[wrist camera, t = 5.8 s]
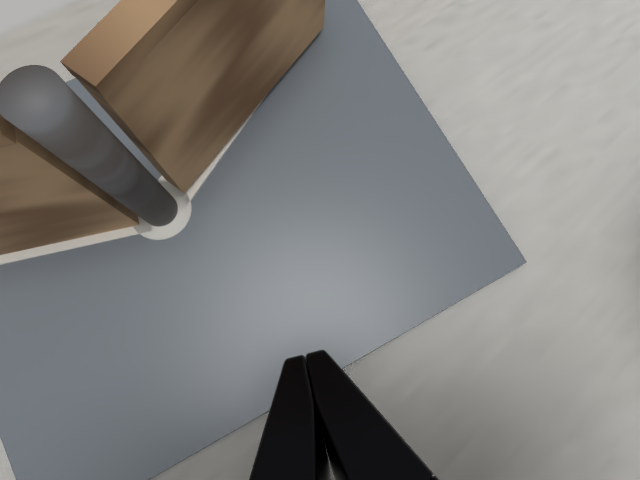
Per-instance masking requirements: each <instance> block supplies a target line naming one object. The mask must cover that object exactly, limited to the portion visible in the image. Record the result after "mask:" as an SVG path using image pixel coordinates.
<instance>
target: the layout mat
mask: <svg viewBox="0 0 640 480" xmlns="http://www.w3.org/2000/svg"><path fill="white" fill-rule="evenodd" d="M66 84H67V85H68V86H69V87H70V88H71V89H72V90H73V91H74V92H75V93H76V94H77V95H78V97H79V98H80V99H81V100H82V101H83V102H84V103H85V104H86V105H87V106H88V107H89V108H90V109H91V110H92V111H93V113H94V114H95V115H96V116H97V117H98V118H99V119H100V120H101V121H102V122H103V123H104V124H105V125H106V126H107V127H108V128H109V130H110V131H111V132H112V133H113V134H114V135H115V136H116V137H117V138H118V139H119V140H120V141H121V142H122V143H123V144H124V145H125V147H126V148H127V149H128V150H129V151H130V152H131V153H132V154H133V155H134V156H135V157H136V158H137V159H138V160H139V161H140V162H141V164H142V165H143V166H144V167H145V168H146V169H147V170H148V171H149V172H150V173H151V174H152V175H153V176H154V177H155V178H156V179H157V181H158V182H159V183H160V184H161V185H162V186H163V187H164V188H165V189H166V190H167V191H168V192H169V193H170V194H171V195H172V197H173V198H174V199H175V200H176V202H177V205H178V212H177V215H176V217H175V219H174V220H173V221H172V222H171V223H169V224H167V225H165V226H160V227H157V226H153V225H150V224H149V223H147V222H146V221H145V220H143V219H142V218H140V217H139V216H138V219H139V225H136V226H132V227H127V228H123V229H118V230H113V231H109V232H104V233H100V234H95V235H91V236H86V237H81V238H77V239H72V240H68V241H63V242H59V243H54V244H50V245H45V246H40V247H36V248H31V249H27V250H22V251H18V252H13V253H8V254H4V255H0V437H1V440H2V443H3V445H4V448H5V451H6V454H7V456H8V459H9V462H10V464H11V467H12V470H13V472H14V475H15V478H16V480H149V479H151V478H152V477H154V476H156V475H158V474H159V473H161V472H163V471H165V470H166V469H168V468H170V467H172V466H173V465H175V464H177V463H179V462H180V461H182V460H184V459H185V458H187V457H189V456H191V455H192V454H194V453H196V452H198V451H199V450H201V449H203V448H205V447H206V446H208V445H210V444H212V443H213V442H215V441H217V440H219V439H220V438H222V437H224V436H225V435H227V434H229V433H231V432H232V431H234V430H236V429H238V428H239V427H241V426H243V425H245V424H246V423H248V422H250V421H252V420H253V419H255V418H257V417H259V416H260V415H262V414H264V413H265V412H267V411H269V410H270V407H271V404H272V401H273V397H274V394H275V390H276V387H277V384H278V380H279V377H280V373H281V370H282V367H283V363H284V361H285V360H286V359H287V358H291V357H295V356H299V355H304V356H305V358H306V354H307V353H311V352H315V351H319V350H325V351H326V352H327V353H328V354H329V355H330V356H331V357H332V358H333V360H334V361H335V362H336V363H337V364H338V365H339V366H340V368H341V369H342V368H344V367H345V366H347V365H349V364H351V363H352V362H354V361H356V360H358V359H359V358H361V357H363V356H365V355H366V354H368V353H370V352H372V351H373V350H375V349H377V348H378V347H380V346H382V345H384V344H385V343H387V342H389V341H391V340H392V339H394V338H396V337H398V336H399V335H401V334H403V333H405V332H406V331H408V330H410V329H412V328H413V327H415V326H417V325H418V324H420V323H422V322H424V321H425V320H427V319H429V318H431V317H432V316H434V315H436V314H438V313H439V312H441V311H443V310H445V309H446V308H448V307H450V306H452V305H453V304H455V303H457V302H458V301H460V300H462V299H464V298H465V297H467V296H469V295H471V294H472V293H474V292H476V291H478V290H479V289H481V288H483V287H485V286H486V285H488V284H490V283H492V282H493V281H495V280H497V279H498V278H500V277H502V276H504V275H505V274H507V273H509V272H511V271H512V270H514V269H516V268H518V267H519V266H521V265H523V264H525V263H526V260H525V259H524V257H523V255H522V254H521V252H520V251H519V249H518V248H517V246H516V245H515V243H514V242H513V240H512V239H511V237H510V235H509V234H508V232H507V231H506V229H505V228H504V226H503V225H502V223H501V222H500V220H499V218H498V217H497V215H496V214H495V212H494V211H493V209H492V208H491V206H490V205H489V203H488V202H487V200H486V198H485V197H484V195H483V194H482V192H481V191H480V189H479V188H478V186H477V185H476V183H475V181H474V180H473V178H472V177H471V175H470V174H469V172H468V171H467V169H466V168H465V166H464V165H463V163H462V161H461V160H460V158H459V157H458V155H457V154H456V152H455V151H454V149H453V148H452V146H451V144H450V143H449V141H448V140H447V138H446V137H445V135H444V134H443V132H442V131H441V129H440V128H439V126H438V124H437V123H436V121H435V120H434V118H433V117H432V115H431V114H430V112H429V111H428V109H427V108H426V106H425V104H424V103H423V101H422V100H421V98H420V97H419V95H418V94H417V92H416V91H415V89H414V87H413V86H412V84H411V83H410V81H409V80H408V78H407V77H406V75H405V74H404V72H403V71H402V69H401V67H400V66H399V64H398V63H397V61H396V60H395V58H394V57H393V55H392V54H391V52H390V50H389V49H388V47H387V46H386V44H385V43H384V41H383V40H382V38H381V37H380V35H379V34H378V32H377V30H376V29H375V27H374V26H373V24H372V23H371V21H370V20H369V18H368V17H367V15H366V14H365V12H364V10H363V9H362V7H361V6H360V4H359V3H358V1H357V0H325V14H324V27H323V28H322V30H321V31H320V32H319V33H318V34H317V36H316V37H315V38H314V39H313V40H312V41H311V43H310V44H309V45H308V46H307V47H306V49H305V50H304V51H303V52H302V53H301V55H300V56H299V57H298V58H297V59H296V61H295V62H294V63H293V64H292V65H291V66H290V68H289V69H288V70H287V71H286V72H285V74H284V75H283V76H282V77H281V78H280V80H279V81H278V82H277V83H276V84H275V85H274V87H273V88H272V89H271V90H270V91H269V93H268V94H267V95H266V96H265V97H264V99H263V100H262V101H261V102H260V103H259V104H258V106H257V107H256V108H255V109H254V110H253V112H252V113H251V114H250V115H249V116H248V118H247V119H246V120H245V121H244V122H243V124H242V125H241V126H240V127H239V128H238V129H237V131H236V132H235V133H234V134H233V135H232V137H231V138H230V139H229V140H228V141H227V143H226V144H225V145H224V146H223V147H222V148H221V150H220V151H219V152H218V153H217V154H216V156H215V157H214V158H213V159H212V160H211V162H210V163H209V164H208V165H207V166H206V167H205V169H204V170H203V171H202V172H201V173H200V175H199V176H198V177H197V178H196V179H195V181H194V182H193V183H192V184H191V185H190V186H189V188H188V189H187V190H186V191H185V192H184V193H183V192H182V191H180V190H179V189H177V188H176V187H175V186H173V185H172V184H171V183H169V182H168V181H167V180H166V179H165V178H164V177H163V176H162V175H161V174H160V173H159V171H158V170H157V169H156V168H155V167H154V166H153V165H152V163H151V162H150V161H149V160H148V159H147V158H146V157H145V156H144V154H143V153H142V152H141V151H140V150H139V149H138V148H137V147H136V145H135V144H134V143H133V142H132V141H131V140H130V139H129V137H128V136H127V135H126V134H125V133H124V132H123V131H122V130H121V128H120V127H119V126H118V125H117V124H116V123H115V122H114V120H113V119H112V118H111V117H110V116H109V115H108V114H107V113H106V111H105V110H104V109H103V108H102V107H101V106H100V105H99V103H98V102H97V101H96V100H95V99H94V98H93V97H92V96H91V94H90V93H89V92H88V91H87V90H86V89H85V88H84V86H83V85H82V84H81V83H80V82H79V81H78V80H77V79H76V78H75V79H73V80H70V81H68V82H66Z"/></svg>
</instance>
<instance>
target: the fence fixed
mask: <svg viewBox="0 0 640 480" xmlns="http://www.w3.org/2000/svg"><path fill="white" fill-rule="evenodd" d="M177 212H178V205H177V202H176V200H175V199H174V198H173V197H172V195H171V194H170V193H169V192H168V191H167V190H166V189H165V188H164V187H163V186H162V185H161V184H160V183H159V182H158V181H157V179H156V178H155V177H154V176H153V175H152V174H151V173H150V172H149V171H148V170H147V169H146V168H145V167H144V166H143V165H142V164H141V162H140V161H139V160H138V159H137V158H136V157H135V156H134V155H133V154H132V153H131V152H130V151H129V150H128V149H127V148H126V147H125V145H124V144H123V143H122V142H121V141H120V140H119V139H118V138H117V137H116V136H115V135H114V134H113V133H112V132H111V131H110V130H109V128H108V127H107V126H106V125H105V124H104V123H103V122H102V121H101V120H100V119H99V118H98V117H97V116H96V115H95V114H94V113H93V111H92V110H91V109H90V108H89V107H88V106H87V105H86V104H85V103H84V102H83V101H82V100H81V99H80V98H79V97H78V95H77V94H76V93H75V92H74V91H73V90H72V89H71V88H70V87H69V86H68V85H67V84H66V83H65V82H64V81H63V80H62V78H61V77H60V76H59V75H58V74H57V73H56V72H54V71H53V70H51V69H49V68H47V67H44V66H40V65H29V66H24V67H21V68H18V69H16V70H14V71H12V72H11V73H9V74H8V75H7V76H6V77H5V78H4V79H3V80H2V81H1V83H0V255H4V254H8V253H13V252H18V251H22V250H27V249H31V248H36V247H40V246H45V245H50V244H54V243H59V242H63V241H68V240H72V239H77V238H81V237H86V236H91V235H95V234H100V233H104V232H109V231H113V230H118V229H123V228H127V227H132V226H136V225H139V219H138V216H139V217H140V218H142V219H143V220H145V221H146V222H147V223H149V224H150V225H153V226H157V227H160V226H165V225H167V224H169V223H171V222H172V221H173V220H174V219H175V217H176V215H177Z"/></svg>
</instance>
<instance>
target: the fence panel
mask: <svg viewBox="0 0 640 480" xmlns="http://www.w3.org/2000/svg"><path fill="white" fill-rule="evenodd" d="M324 14H325V0H121V1H120V2H119V3H118V4H117V5H116V6H115V7H114V8H113V9H112V10H111V11H110V12H109V13H108V14H107V15H106V16H105V17H104V18H103V19H102V20H101V21H100V22H99V23H98V24H97V25H96V26H95V27H94V28H93V29H92V30H91V31H90V32H89V33H88V34H87V35H86V36H85V37H84V38H83V39H82V40H81V41H80V42H79V43H78V44H77V45H76V46H75V47H74V48H73V49H72V50H71V51H70V52H69V53H68V54H67V55H66V56H65V57H64V58H63V59H62V60H61V61H60V62H61V63H62V64H63V65H64V66H65V67H66V68H67V70H68V71H69V72H70V73H71V74H72V75H73V76H74V77H76V79H77V80H78V81H79V82H80V83H81V84H82V85H83V86H84V88H85V89H86V90H87V91H88V92H89V93H90V94H91V96H92V97H93V98H94V99H95V100H96V101H97V102H98V103H99V105H100V106H101V107H102V108H103V109H104V110H105V111H106V113H107V114H108V115H109V116H110V117H111V118H112V119H113V120H114V122H115V123H116V124H117V125H118V126H119V127H120V128H121V130H122V131H123V132H124V133H125V134H126V135H127V136H128V137H129V139H130V140H131V141H132V142H133V143H134V144H135V145H136V147H137V148H138V149H139V150H140V151H141V152H142V153H143V154H144V156H145V157H146V158H147V159H148V160H149V161H150V162H151V163H152V165H153V166H154V167H155V168H156V169H157V170H158V171H159V173H160V174H161V175H162V176H163V177H164V178H165V179H166V180H167V181H168V182H169V183H171V184H172V185H173V186H175V187H176V188H177V189H179V190H180V191H182V192H183V193H184V192H185V191H186V190H187V189H188V188H189V186H190V185H191V184H192V183H193V182H194V181H195V179H196V178H197V177H198V176H199V175H200V173H201V172H202V171H203V170H204V169H205V167H206V166H207V165H208V164H209V163H210V162H211V160H212V159H213V158H214V157H215V156H216V154H217V153H218V152H219V151H220V150H221V148H222V147H223V146H224V145H225V144H226V143H227V141H228V140H229V139H230V138H231V137H232V135H233V134H234V133H235V132H236V131H237V129H238V128H239V127H240V126H241V125H242V124H243V122H244V121H245V120H246V119H247V118H248V116H249V115H250V114H251V113H252V112H253V110H254V109H255V108H256V107H257V106H258V104H259V103H260V102H261V101H262V100H263V99H264V97H265V96H266V95H267V94H268V93H269V91H270V90H271V89H272V88H273V87H274V85H275V84H276V83H277V82H278V81H279V80H280V78H281V77H282V76H283V75H284V74H285V72H286V71H287V70H288V69H289V68H290V66H291V65H292V64H293V63H294V62H295V61H296V59H297V58H298V57H299V56H300V55H301V53H302V52H303V51H304V50H305V49H306V47H307V46H308V45H309V44H310V43H311V41H312V40H313V39H314V38H315V37H316V36H317V34H318V33H319V32H320V31H321V30H322V28H323V27H324Z"/></svg>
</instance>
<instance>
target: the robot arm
mask: <svg viewBox="0 0 640 480" xmlns="http://www.w3.org/2000/svg"><path fill="white" fill-rule="evenodd" d="M324 441H325V442H324ZM325 445H326V446H325ZM326 449H327V451H326ZM327 453H328V456H327ZM328 457H329V461H330V464H331V468H332V471H333V474H334V477H335V480H439V479H438V478H437V477H436V476H433V473H432V471H431V470H430V469H429V468H428V467H427V466H426V465H425V463H424V462H423V461H422V460H421V459H420V458H419V457H418V455H417V454H416V453H415V452H414V451H413V450H412V449H411V447H410V446H409V445H408V444H407V443H406V442H405V441H404V439H403V438H402V437H401V436H400V435H399V434H398V433H397V431H396V430H395V429H394V428H393V427H392V426H391V425H390V423H389V422H388V421H387V420H386V419H385V418H384V417H383V415H382V414H381V413H380V412H379V411H378V410H377V409H376V407H375V406H374V405H373V404H372V403H371V402H370V401H369V399H368V398H367V397H366V396H365V395H364V394H363V393H362V391H361V390H360V389H359V388H358V387H357V386H356V385H355V384H354V382H353V381H352V380H351V379H350V378H349V377H348V376H347V374H346V373H345V372H344V371H343V370H342V369H341V368H340V366H339V365H338V364H337V363H336V362H335V361H334V360H333V358H332V357H331V356H330V355H329V354H328V353H327V352H326V351H325V350H319V351H315V352H311V353H307V354H306V358H305V356H304V355H299V356H295V357H291V358H287V359H286V360H285V361H284V363H283V367H282V370H281V373H280V377H279V380H278V384H277V387H276V390H275V394H274V397H273V401H272V404H271V407H270V411H269V414H268V418H267V421H266V424H265V428H264V431H263V435H262V438H261V441H260V445H259V448H258V452H257V455H256V458H255V462H254V465H253V469H252V472H251V475H250V479H249V480H331V476H330V468H329V461H328Z"/></svg>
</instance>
